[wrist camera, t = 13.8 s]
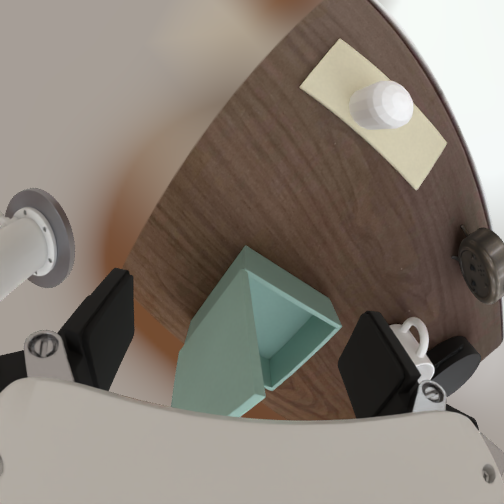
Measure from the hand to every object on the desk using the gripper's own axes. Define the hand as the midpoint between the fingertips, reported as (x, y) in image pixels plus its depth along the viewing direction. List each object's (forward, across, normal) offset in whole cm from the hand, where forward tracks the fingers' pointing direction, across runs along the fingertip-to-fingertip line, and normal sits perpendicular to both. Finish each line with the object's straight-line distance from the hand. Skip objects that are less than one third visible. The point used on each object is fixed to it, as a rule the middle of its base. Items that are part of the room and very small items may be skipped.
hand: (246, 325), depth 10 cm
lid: (+9, +1, +12) cm, 15 cm away
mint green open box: (+23, -5, +15) cm, 28 cm away
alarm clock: (+23, -35, -1) cm, 42 cm away
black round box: (+23, -46, +23) cm, 56 cm away
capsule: (+23, -12, -15) cm, 30 cm away
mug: (+23, -28, +16) cm, 40 cm away
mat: (+23, -14, -15) cm, 31 cm away
